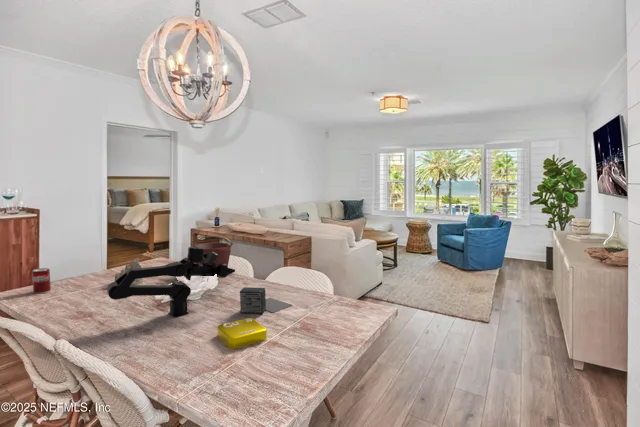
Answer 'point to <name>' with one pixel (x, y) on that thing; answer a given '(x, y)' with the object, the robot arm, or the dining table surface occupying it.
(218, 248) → the bucket
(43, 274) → the soda can
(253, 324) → the element tile
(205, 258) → the robot arm
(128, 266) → the jagged grey rock
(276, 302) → the dark rubber mat
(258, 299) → the small box
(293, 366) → the dining table surface
